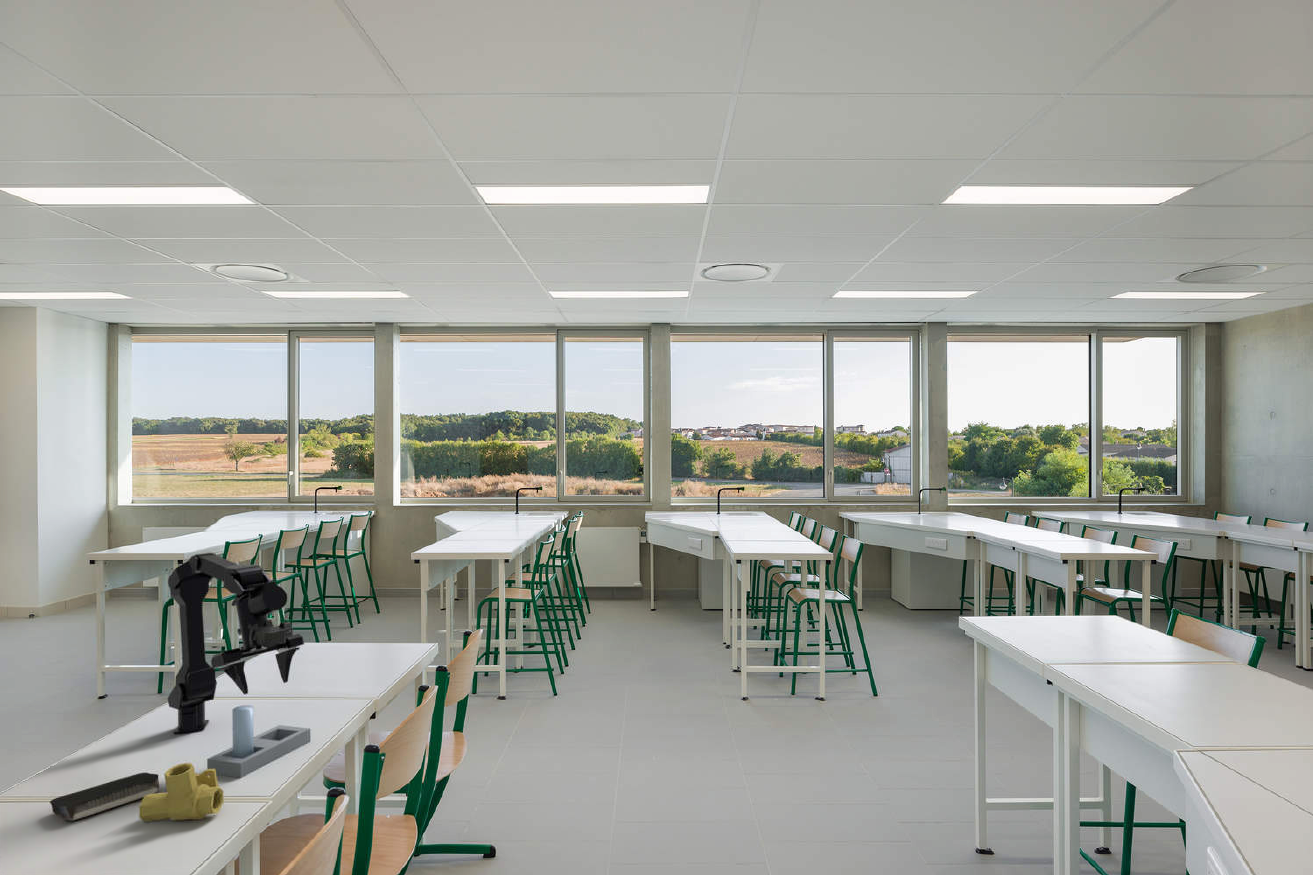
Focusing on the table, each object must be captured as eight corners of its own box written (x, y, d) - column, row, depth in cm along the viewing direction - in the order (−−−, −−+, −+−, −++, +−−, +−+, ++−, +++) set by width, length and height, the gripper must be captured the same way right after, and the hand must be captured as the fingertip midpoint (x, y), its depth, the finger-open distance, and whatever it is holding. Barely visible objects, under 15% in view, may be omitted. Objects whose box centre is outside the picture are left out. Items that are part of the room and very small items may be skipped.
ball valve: (212, 827, 137) (238, 794, 148) (204, 775, 136) (231, 745, 146) (139, 835, 137) (171, 801, 147) (130, 782, 135) (163, 752, 145)
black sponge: (62, 828, 137) (63, 808, 137) (48, 815, 142) (48, 796, 142) (163, 795, 150) (163, 777, 150) (147, 784, 155) (147, 766, 155)
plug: (234, 763, 164) (234, 706, 164) (255, 760, 165) (254, 703, 165) (231, 770, 160) (230, 712, 160) (252, 767, 161) (251, 709, 161)
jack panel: (240, 777, 156) (240, 763, 156) (207, 772, 159) (207, 758, 159) (310, 741, 176) (310, 728, 176) (279, 737, 178) (279, 724, 178)
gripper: (230, 620, 159) (244, 694, 156) (310, 604, 175) (324, 670, 172) (204, 631, 165) (217, 702, 162) (284, 615, 180) (297, 679, 178)
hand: (266, 688), depth 168 cm, fingers open, 9 cm apart
